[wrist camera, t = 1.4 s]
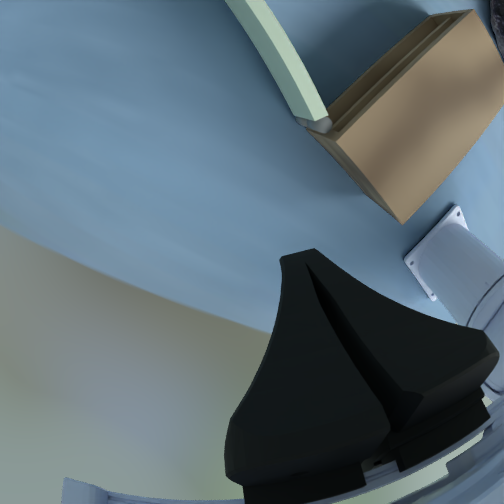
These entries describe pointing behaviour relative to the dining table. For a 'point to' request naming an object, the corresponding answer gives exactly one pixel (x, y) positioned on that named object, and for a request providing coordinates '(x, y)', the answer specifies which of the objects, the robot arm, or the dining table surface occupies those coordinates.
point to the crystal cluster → (498, 22)
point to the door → (282, 63)
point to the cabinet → (417, 111)
